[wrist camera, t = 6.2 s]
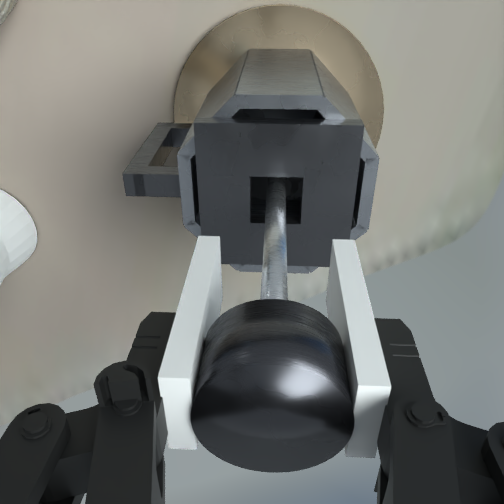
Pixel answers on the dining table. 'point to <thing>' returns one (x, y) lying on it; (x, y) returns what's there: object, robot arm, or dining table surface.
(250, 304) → the black knob on rod
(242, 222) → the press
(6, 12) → the carving
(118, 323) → the dining table surface
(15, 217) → the cup
